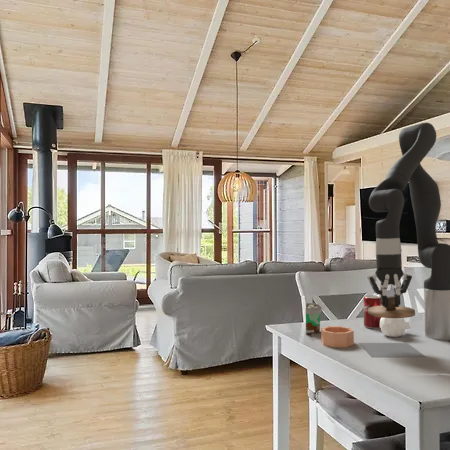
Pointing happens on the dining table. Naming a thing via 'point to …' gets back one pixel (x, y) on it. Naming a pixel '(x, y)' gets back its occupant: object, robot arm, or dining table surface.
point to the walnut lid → (391, 310)
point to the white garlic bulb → (393, 326)
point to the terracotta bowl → (337, 336)
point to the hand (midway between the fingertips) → (390, 306)
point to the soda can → (369, 319)
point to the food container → (313, 318)
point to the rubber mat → (391, 350)
